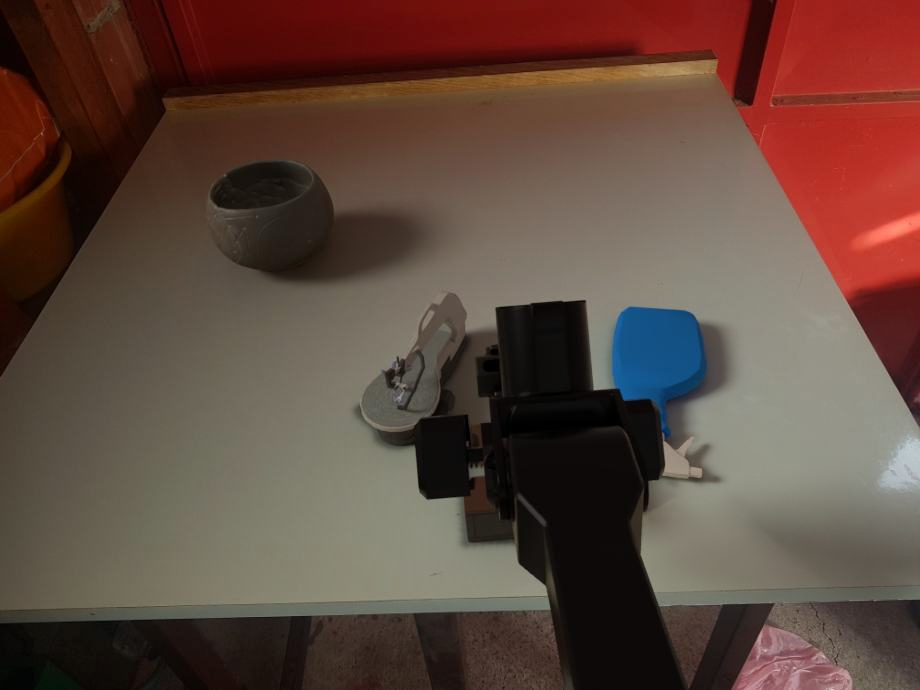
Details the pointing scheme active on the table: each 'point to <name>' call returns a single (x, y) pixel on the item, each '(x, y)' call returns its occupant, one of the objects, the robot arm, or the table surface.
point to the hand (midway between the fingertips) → (528, 437)
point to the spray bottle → (660, 366)
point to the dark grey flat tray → (487, 527)
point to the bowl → (269, 214)
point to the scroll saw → (418, 374)
